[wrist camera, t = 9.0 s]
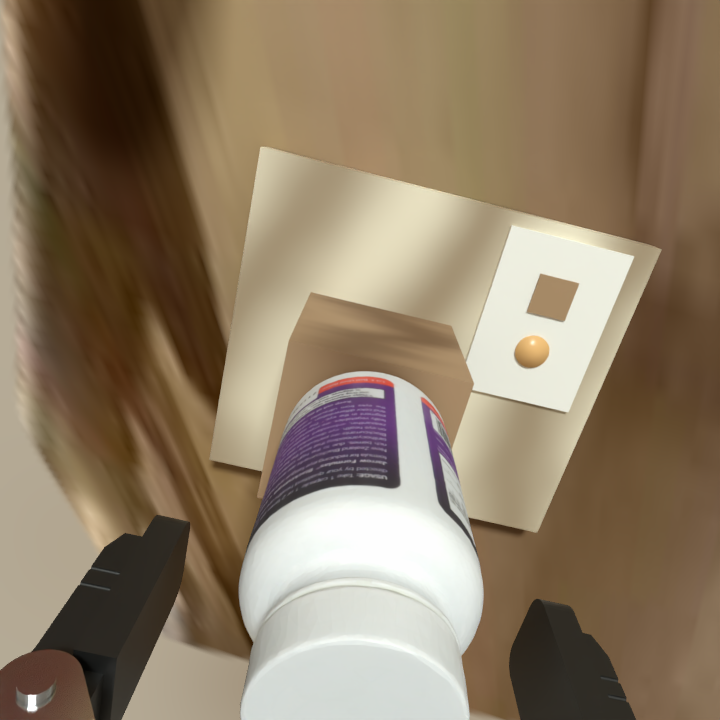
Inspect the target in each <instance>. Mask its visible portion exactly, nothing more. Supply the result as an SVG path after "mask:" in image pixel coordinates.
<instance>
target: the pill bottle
mask: <svg viewBox="0 0 720 720" xmlns="http://www.w3.org/2000/svg"><path fill="white" fill-rule="evenodd" d="M239 602H240V608H241V613H242V618H243V621H244V624H245V627H246V629H247V631H248V633H249V635H250V637H251V639H252V640H253V642H254V643H253V646H252V650H251V654H250V661H249V666H248V671H247V676H246V681H245V685H244V690H243V694H242V699H241V705H240V708H241V709H240V717H241V720H469V718H470V714H469V704H468V697H467V689H466V682H465V676H464V671H463V665H462V659H461V655H462V654H463V653H464V652H465V650H466V649H467V647H468V646H469V644H470V643H471V641H472V639H473V637H474V635H475V633H476V630H477V627H478V625H479V622H480V618H481V614H482V608H483V582H482V575H481V569H480V563H479V559H478V555H477V551H476V547H475V543H474V539H473V535H472V531H471V527H470V523H469V518H468V514H467V510H466V506H465V502H464V498H463V494H462V490H461V485H460V481H459V477H458V473H457V469H456V465H455V461H454V457H453V453H452V449H451V445H450V441H449V437H448V434H447V431H446V428H445V425H444V422H443V419H442V417H441V415H440V413H439V411H438V410H437V408H436V407H435V405H434V404H433V403H432V401H431V400H430V399H429V398H428V397H427V396H426V395H425V394H424V393H423V392H422V391H420V390H419V389H418V388H416V387H415V386H413V385H412V384H410V383H409V382H407V381H405V380H403V379H401V378H398V377H395V376H392V375H389V374H385V373H379V372H371V371H358V372H350V373H344V374H340V375H337V376H334V377H332V378H329V379H327V380H325V381H323V382H321V383H319V384H318V385H316V386H315V387H313V388H312V389H311V390H310V391H308V392H307V393H306V394H305V395H304V396H303V397H302V398H301V400H300V401H299V402H298V403H297V405H296V406H295V408H294V409H293V411H292V412H291V414H290V417H289V419H288V421H287V424H286V426H285V429H284V432H283V435H282V438H281V441H280V445H279V448H278V451H277V455H276V458H275V461H274V465H273V468H272V471H271V474H270V478H269V481H268V484H267V487H266V491H265V494H264V497H263V500H262V503H261V506H260V509H259V512H258V516H257V519H256V522H255V525H254V528H253V531H252V533H251V537H250V540H249V543H248V546H247V550H246V554H245V557H244V561H243V565H242V569H241V574H240V580H239Z"/></svg>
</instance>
